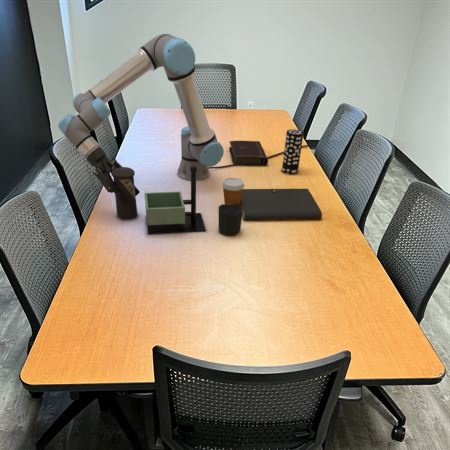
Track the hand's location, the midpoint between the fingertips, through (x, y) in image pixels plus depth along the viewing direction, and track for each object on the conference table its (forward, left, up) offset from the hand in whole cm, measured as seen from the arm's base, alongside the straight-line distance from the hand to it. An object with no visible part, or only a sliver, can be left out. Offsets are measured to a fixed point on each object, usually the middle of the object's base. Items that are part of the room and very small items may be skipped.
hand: (132, 198), depth 183 cm
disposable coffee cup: (-42, -5, -9) cm, 43 cm away
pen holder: (-37, +15, -9) cm, 41 cm away
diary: (-62, -64, -9) cm, 89 cm away
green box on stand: (-16, +7, -9) cm, 20 cm away
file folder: (-62, -3, -9) cm, 63 cm away
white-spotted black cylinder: (-80, -43, -9) cm, 91 cm away
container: (+3, -2, -9) cm, 9 cm away
